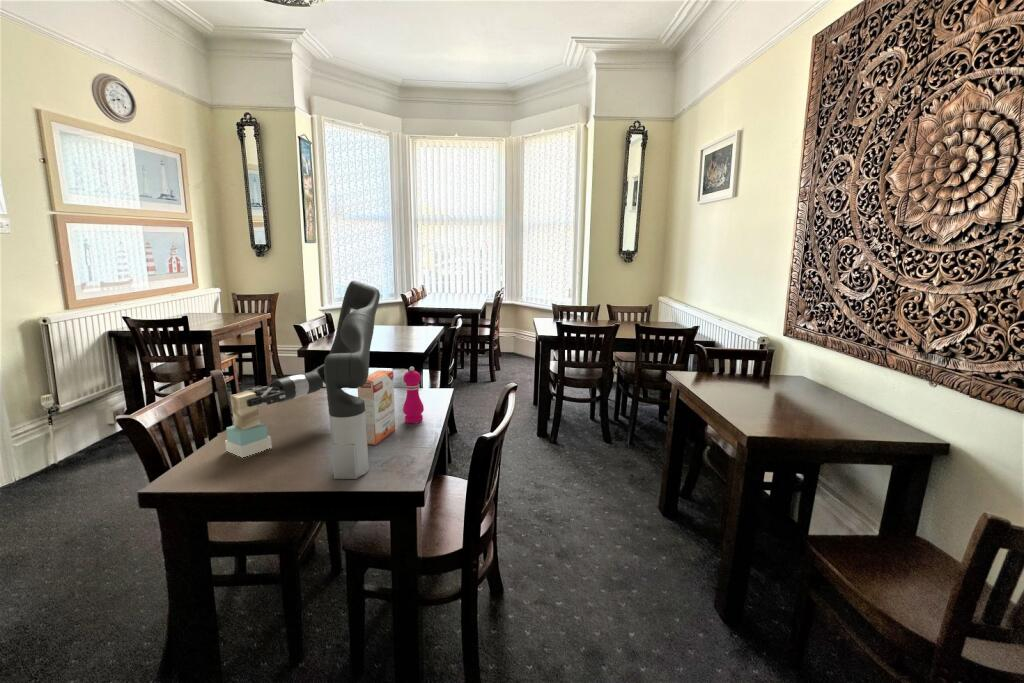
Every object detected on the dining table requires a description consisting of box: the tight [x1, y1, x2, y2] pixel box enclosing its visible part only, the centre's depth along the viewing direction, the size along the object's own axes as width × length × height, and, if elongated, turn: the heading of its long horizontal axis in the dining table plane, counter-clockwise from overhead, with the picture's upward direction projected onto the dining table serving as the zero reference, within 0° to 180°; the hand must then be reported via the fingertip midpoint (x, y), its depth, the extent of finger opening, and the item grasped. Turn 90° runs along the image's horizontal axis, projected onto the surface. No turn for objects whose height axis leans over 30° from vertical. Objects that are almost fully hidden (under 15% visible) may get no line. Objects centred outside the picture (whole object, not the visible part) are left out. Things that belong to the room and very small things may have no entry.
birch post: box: [229, 391, 261, 430], centre depth 141 cm, size 5×5×10 cm
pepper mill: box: [402, 366, 425, 424], centre depth 166 cm, size 7×7×20 cm
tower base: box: [224, 435, 273, 459], centre depth 143 cm, size 9×9×4 cm
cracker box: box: [357, 369, 396, 446], centre depth 152 cm, size 14×6×21 cm, turn 168°
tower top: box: [225, 422, 269, 446], centre depth 142 cm, size 8×8×4 cm
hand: (239, 401), depth 139 cm, fingers open, 8 cm apart
